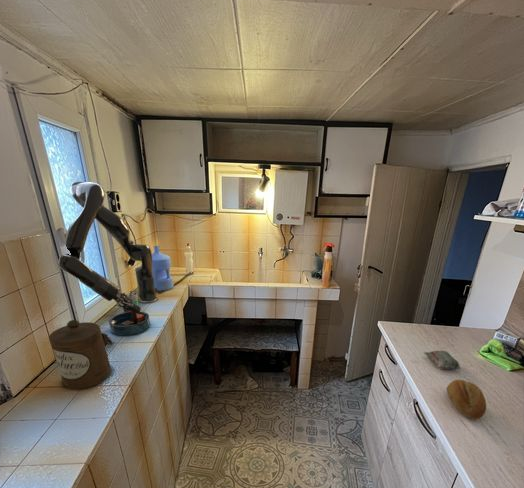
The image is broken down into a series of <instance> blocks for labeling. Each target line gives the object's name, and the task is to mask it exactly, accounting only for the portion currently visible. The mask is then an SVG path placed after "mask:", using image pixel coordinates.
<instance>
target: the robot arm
mask: <svg viewBox="0 0 524 488" xmlns="http://www.w3.org/2000/svg"><path fill="white" fill-rule="evenodd" d="M70 186H71V187H70V193H71V195H72V198H73V199H74V200H75V202H76V203H77V204H78V205H80V206H81V208H82V210H81V212H80V213H79V215H78V216H77V217H76V218H75V219H74V220H73V221H72V223H70V225H69V226H68V229H67V231H66V234H67V239H66V247H67V249H68V250H69V251H70V253H71V255H69V254H65V255H62V256H61V257H60V256H59V258H58V260H57V264H58V263H59V266H60V268H61V269H62V270H64V271H66V272H68V273H67V274H69V275H71V276H73V277H74V278H76V279H77V280H78V281H79V282H80V283H81V284H83V285H84V286H86V287H87V288H89V289H90V290H92V291H93V292H94V293H95V294H97V295H99V296H100V297H102V298H103V299H105V300H107V301H108V302H111V301H112V300H113V301H115V302H116V304H117V306H118V307H120V308H122V309H123V308H124V309H127V310H132V311H134V312H135V313H137V314H138V313H139V312H141V307H140V306H139V305H138V306H137V305H136V304H135V306H136V307H135V306H134V305H133V304H131V303H134V302H133V300H132V299H130V298H129V297H128V296H127V294H126V292H120V291H121V287H119V286H117V284H116V283H114V282H112V281H110V279H108V278H106V277H104V276H102V275H101V274H100V273H98V272H97V271H95V270H93V269H92V268H90V267H89V266H88V265H87V264H85V263H84V262H83V261H82V260H81V256H80V252H81V253H82V252H83V251H84V248H85V245H86V241H87V239H88V236H89V232H90V230H91V228H92V226H93V224H94V222H95V220H96V221H97V222H98V223H99V224H100V225H101V226H102V227H103V228H104V229H105V230H106V232H108V234H109V235H110V236H111V237H112V238H113V239H115V241H116V242H117V244H119V245H120V246H121V247H122V249H123V250H124V251H125V253H126V254H127V255H128V257H129V258H130V259H131V260H132V261H135V262H141V265H140V266H137V267H135V268H134V272H135V273H134V274H135V278H136V283H137V290H138V296H139V302H140V303H142V304H150V303H151V304H152V303H154V302H156V301H157V293H158V294H162V293H164V292H165V291H164V290H163V291H159V290H157V288H155V285H154V278H153V271H152V268H153V263H152V254H153V252H152V249H151V247H150V246H149V245H148V244H137V243H135V242H134V241H133V240H132V239H131V238H130V237H131V231H130V228H129V225H128V224H127V223H126V222H125V221H124V220H123V218H122V217H120V216H119V215H118V213H117V214H116V212H114V211H112V210H110V209H109V208H108V207H106V206H105V205H103V204H104V201H105V191H104V189H103V187H102V185H100V184H98V183H97V182H89V181H75V182H73V183H72V185H70ZM60 268H59V269H60ZM191 272H192V273H191ZM191 274H194V272H193V271H189V272H188V273H187V274H185V275H184V276H183V277H182V278H180V279H179V280H178V281H176V282H175V283H173V285H174V286H176V285H177V284H179V283H181V282H182V281H183V280H184V279H186V277H188V276H190V275H191ZM128 306H129V307H128ZM124 309H123V310H124Z"/></svg>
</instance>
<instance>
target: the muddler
mask: <svg viewBox="0 0 524 488" xmlns="http://www.w3.org/2000/svg"><path fill="white" fill-rule="evenodd" d="M131 304H133V305H134V306H135V303H131ZM135 307H136V306H135ZM131 314H132V321H133V322H134V324H138V323H140V322H138V320H137V313H135V312H134V311H132V310H131Z"/></svg>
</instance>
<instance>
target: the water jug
mask: <svg viewBox="0 0 524 488" xmlns="http://www.w3.org/2000/svg"><path fill="white" fill-rule="evenodd" d="M171 260H172V259H171V256H170V255H167V254H166V253H165V254H164V253H162V252H161V251H160V246H159V245H154V246H153V252H152V263H153V268H152V271H153V278H154V285H155V288H157V290H159V292H161V291H163V290H164V292H165V291H169V290H171V289H173V288H174V287H175V285H173V284H174V279H173V278H174V277H173V276H172V275H171V273H170V269H171V268H172V261H171Z"/></svg>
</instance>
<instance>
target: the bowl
mask: <svg viewBox="0 0 524 488" xmlns="http://www.w3.org/2000/svg"><path fill="white" fill-rule="evenodd" d="M138 314H142V315H144V316H145V320H144V321H143V322H140V323H138V324H134V325H129V326H121V323H123V322H125V321H131V322H133V321H132V314H131V312H125V313H124V312H120V313H118V314H115V315H114V316H112V317H110V318H109V319H108V326H109V330H110V332H111V333H113V334H114V335H117V336H133V335H137V334H141V333H143V332H144V331H146V330H147V329H148V328H149V327H150V326H151V319H150V315H149V314H148V313H147V312H145V311H140V312H139V313H138Z"/></svg>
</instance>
